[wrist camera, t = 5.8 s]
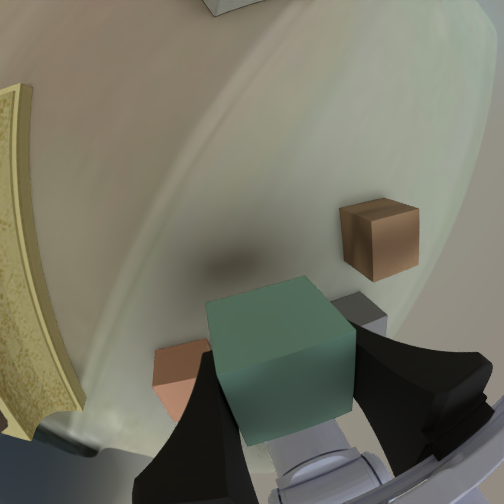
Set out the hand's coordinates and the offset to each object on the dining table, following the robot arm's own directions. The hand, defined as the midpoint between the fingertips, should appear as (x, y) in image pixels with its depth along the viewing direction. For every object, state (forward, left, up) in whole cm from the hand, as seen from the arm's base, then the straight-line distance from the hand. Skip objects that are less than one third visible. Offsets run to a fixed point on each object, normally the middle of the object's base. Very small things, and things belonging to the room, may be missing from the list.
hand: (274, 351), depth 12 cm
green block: (0, 0, -2) cm, 2 cm away
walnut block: (0, -11, -10) cm, 15 cm away
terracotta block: (-8, +6, -10) cm, 14 cm away
